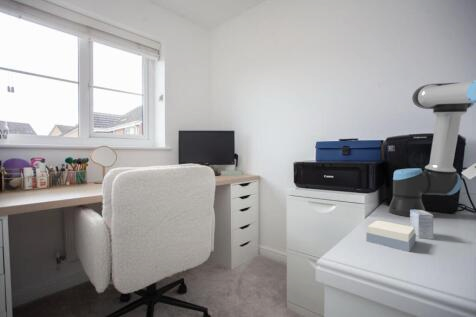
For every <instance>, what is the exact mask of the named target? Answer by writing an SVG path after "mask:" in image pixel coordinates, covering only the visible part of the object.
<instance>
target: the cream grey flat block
mask: <svg viewBox="0 0 476 317" xmlns="http://www.w3.org/2000/svg"><path fill="white" fill-rule="evenodd" d="M365 237H366V239H365V241H366V242H369V243H374V244H378V245H381V246H386V247H389V248H393V249H397V250H401V251H405V252H410V251H411V249H412V248H413V246H414V245H415V244H416V242H417V241H416V237H417V236H416V233H415V227H411V226H410V225H404V224H400V223H395V222H389V221H383V220H375V221H374V222H372V223H370V224H368V225H367V232H366V236H365Z"/></svg>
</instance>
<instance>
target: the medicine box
mask: <svg viewBox="0 0 476 317" xmlns="http://www.w3.org/2000/svg"><path fill="white" fill-rule="evenodd" d="M409 226H411V227H415V233H416V237H417V238H419V239H426V240H434V215H433V214H432V213H430V212H429V211H426V210H425V211H424V210H410V217H409Z"/></svg>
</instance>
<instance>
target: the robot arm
mask: <svg viewBox="0 0 476 317" xmlns="http://www.w3.org/2000/svg"><path fill="white" fill-rule="evenodd" d="M411 97H412V98H411V99H412V103H413V104H414V105H415V106H416V107H418V108H420V109H424V110H432V111H433V112H432V114H433V115H435V116H436V117H435V118H436V119H435V124H434V130H433V138H432V144H431V150H430V158H429V163H428V164H427V165H425V166H424V170H422V168H418V167H416V168H414V167H413V168H412V167H411V168H401V169H396V170H394V172H393V177H392V180H393V181H392V199H391V202H390V204H389V206H388V212H389V213H391V214H394V215H398V216H402V217H409V218H410V210H424V211H426V209H425V206H424V204H423V200H422V195H432V196H433V195H435V196H436V195H437V196H438V195H439V196H446V195H447V196H452V195H454V194H456V193H457V192H458V191H460V189H461V186H462V179H461V176H460V174H459V173H458V172H457V169H456V168H455V167H454V165H453V164H454V159H455V155H456V154H455V153H456V148H457V144H458V137H459V130H460V126H461V125H460V124H461V120H462V116H463V115H465V114H467V112H468V109H469V108H472V107H473V106H474V104H476V79H475V80H470V81H461V82H447V83H446V82H442V83H428V84H424V85H422V86H419V87H418V88H416V89H415V90H414V91H413V93H412V96H411ZM461 174H462V175H463V176H465V177H466V178H467V179H469V180H471V179H473V178H475V177H476V162H475V163H473V164H472V165H471V166H468V167H467V168H466V169H464V170H463V171H461Z"/></svg>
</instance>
